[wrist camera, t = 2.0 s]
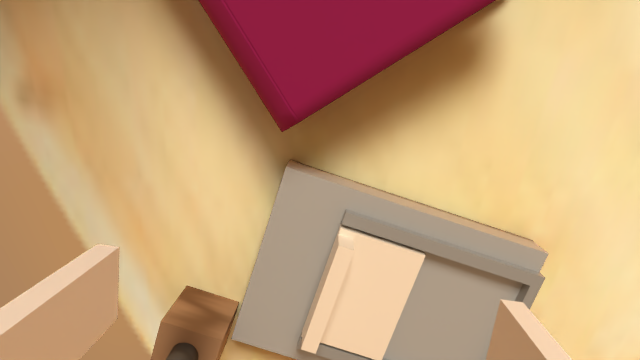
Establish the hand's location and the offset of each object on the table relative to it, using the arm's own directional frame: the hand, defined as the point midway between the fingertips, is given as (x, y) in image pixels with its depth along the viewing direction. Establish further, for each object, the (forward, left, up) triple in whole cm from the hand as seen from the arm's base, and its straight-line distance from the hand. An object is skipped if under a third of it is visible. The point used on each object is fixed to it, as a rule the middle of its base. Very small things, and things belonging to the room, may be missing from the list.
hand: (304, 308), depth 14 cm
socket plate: (+8, -8, -22) cm, 25 cm away
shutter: (+6, -8, -19) cm, 21 cm away
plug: (-6, -16, -22) cm, 28 cm away
